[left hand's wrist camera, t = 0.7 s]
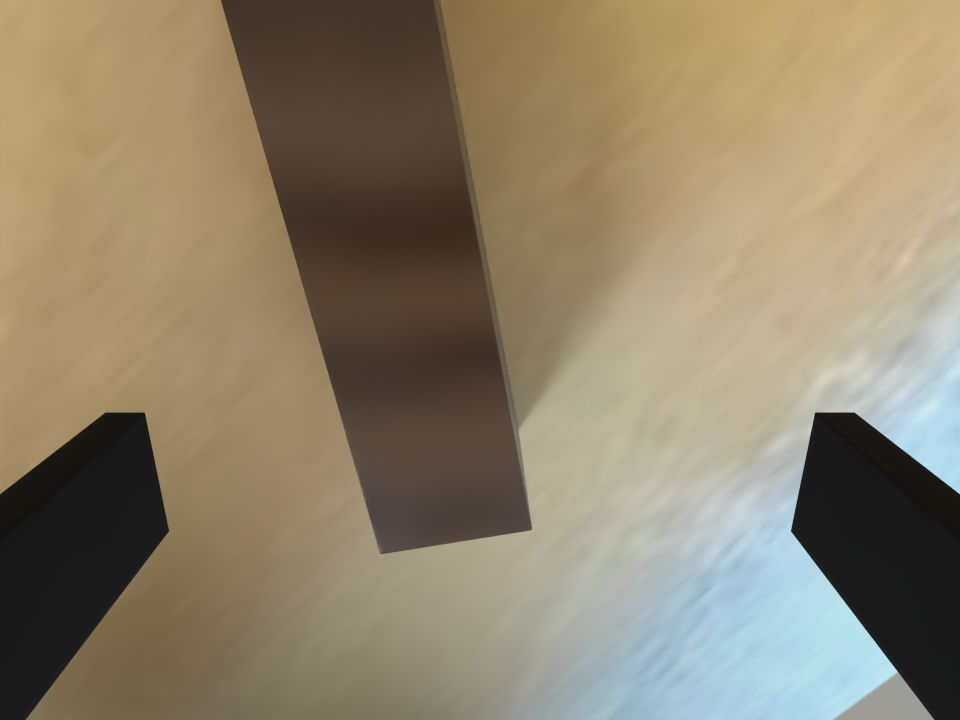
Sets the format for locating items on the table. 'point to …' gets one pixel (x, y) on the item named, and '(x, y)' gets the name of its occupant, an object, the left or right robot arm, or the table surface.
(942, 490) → the left robot arm
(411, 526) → the bar
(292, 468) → the table surface
